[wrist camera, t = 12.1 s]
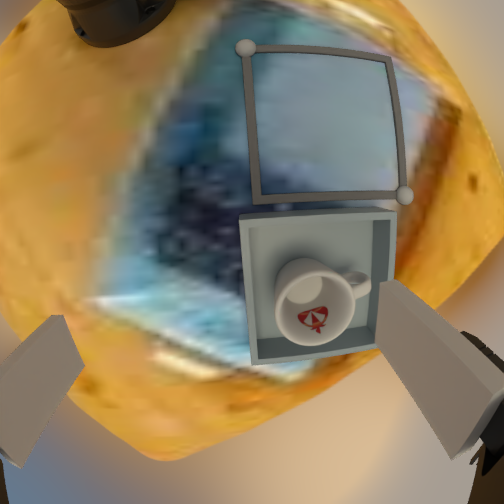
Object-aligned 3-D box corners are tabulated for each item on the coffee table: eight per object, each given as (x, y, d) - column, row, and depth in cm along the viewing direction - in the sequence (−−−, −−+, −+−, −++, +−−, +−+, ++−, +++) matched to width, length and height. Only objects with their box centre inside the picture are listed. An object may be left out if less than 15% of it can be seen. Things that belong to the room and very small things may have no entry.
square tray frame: (234, 45, 27) (234, 36, 25) (391, 55, 27) (399, 50, 25) (246, 210, 32) (247, 213, 30) (407, 203, 32) (417, 205, 30)
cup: (348, 235, 32) (377, 252, 24) (357, 295, 34) (384, 324, 26) (259, 259, 32) (265, 284, 25) (276, 319, 34) (284, 356, 27)
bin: (239, 214, 32) (239, 220, 27) (376, 206, 32) (396, 211, 27) (250, 342, 36) (251, 365, 31) (369, 327, 36) (384, 346, 31)
